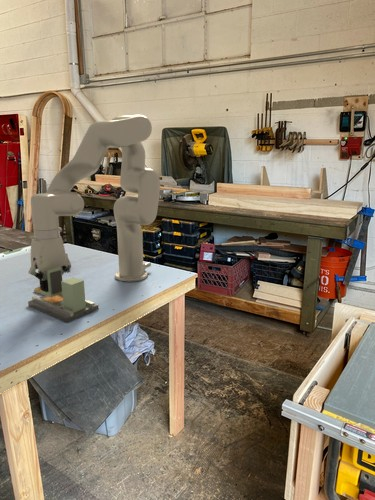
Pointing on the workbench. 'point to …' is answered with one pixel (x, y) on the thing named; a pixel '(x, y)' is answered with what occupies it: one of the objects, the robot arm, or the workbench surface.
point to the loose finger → (53, 282)
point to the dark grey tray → (60, 307)
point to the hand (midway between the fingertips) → (51, 288)
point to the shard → (38, 290)
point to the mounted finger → (73, 294)
